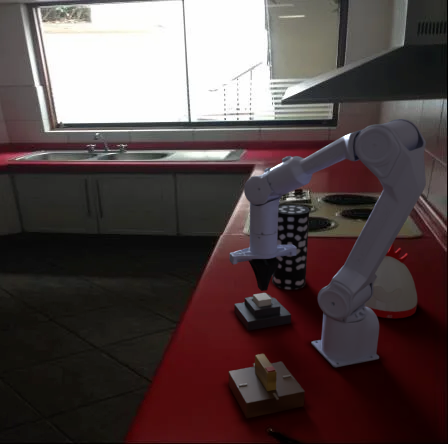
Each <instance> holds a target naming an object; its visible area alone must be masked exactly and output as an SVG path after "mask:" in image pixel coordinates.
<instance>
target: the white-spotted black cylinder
mask: <svg viewBox="0 0 448 444" xmlns="http://www.w3.org/2000/svg"><path fill="white" fill-rule="evenodd" d="M310 212H311V211H310V208H309V207H307V206H303V205H299V204H282V205H278V235H277V245H290V244H293V245H294V246H295V247H297V251H296V256H291V255H286V256H279V257H276V259H277V260H278V261H279V266H278V267H277V268H276V270H275V271H274V273H273V275H272V277H271V279H272V280H271V281H272V284H273V285H274V286H275V287H277V288H279V289H284V290H300V289H302V288H303V287H305V286H306V279H307V265H308V264H307V262H308V245H309V243H308V242H309V228H310V227H309V226H310Z"/></svg>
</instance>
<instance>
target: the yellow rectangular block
mask: <svg viewBox="0 0 448 444" xmlns="http://www.w3.org/2000/svg"><path fill="white" fill-rule="evenodd" d="M254 363H255V373H256V375H257V376H258V378H259V379H260V381H261V382H262V384H263V386H264V387H265V389H266V390H267V391H271V390H276V378H277V372H276V370H275V369H274V367H273V366H272V365H271V363H272V362H270V361H269V359H268V358H267V356H266V354H265V353H260V354H259V353H258V354H254Z"/></svg>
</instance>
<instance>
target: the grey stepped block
mask: <svg viewBox="0 0 448 444" xmlns="http://www.w3.org/2000/svg"><path fill="white" fill-rule="evenodd" d="M266 294H267V295H268V296H269V297H270V298H271V305H268V306H262V307H258V306H257V305H256V304H255V303H254V302H253V296H248V297H244V302H238V303H234V307H233V308H234V309H233V311H234V314H235V315H236V316H237V318H238V319H239V320H240V322H241V323H242V325H243V326H244V327H245V329H246V330H247V331H253V330H259V329H265V328H270V327H276V326H283V325H288V324H291V323H292V313H290V312H289V311H288V310H287V308H286V307H284V305H282V303H280V302H279V301H278V300H277V298H275V297H272V296H271V295H270V294H269V293H266Z"/></svg>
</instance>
